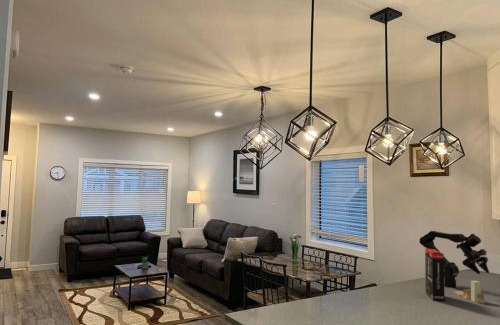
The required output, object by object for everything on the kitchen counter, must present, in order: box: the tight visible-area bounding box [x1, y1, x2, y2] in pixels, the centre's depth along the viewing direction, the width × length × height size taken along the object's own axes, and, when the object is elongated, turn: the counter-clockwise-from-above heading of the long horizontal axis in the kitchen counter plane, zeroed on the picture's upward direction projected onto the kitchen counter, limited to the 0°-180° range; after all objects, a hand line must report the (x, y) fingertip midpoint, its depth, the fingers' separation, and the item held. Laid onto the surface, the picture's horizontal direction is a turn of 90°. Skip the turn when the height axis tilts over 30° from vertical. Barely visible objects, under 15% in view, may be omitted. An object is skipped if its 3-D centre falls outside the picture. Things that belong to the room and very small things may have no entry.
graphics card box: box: [424, 247, 446, 302], centre depth 218 cm, size 17×7×27 cm, turn 168°
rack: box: [461, 288, 485, 304], centre depth 215 cm, size 13×8×5 cm, turn 176°
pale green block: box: [470, 280, 482, 303], centre depth 213 cm, size 4×4×11 cm
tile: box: [451, 290, 464, 296], centre depth 228 cm, size 9×9×1 cm
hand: (484, 273), depth 227 cm, fingers open, 9 cm apart
